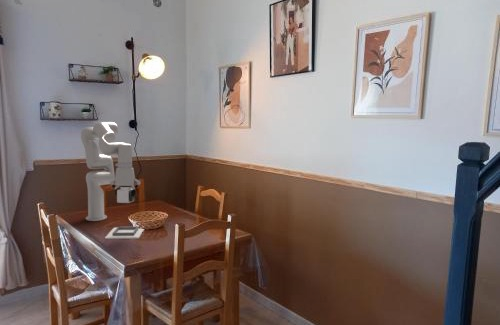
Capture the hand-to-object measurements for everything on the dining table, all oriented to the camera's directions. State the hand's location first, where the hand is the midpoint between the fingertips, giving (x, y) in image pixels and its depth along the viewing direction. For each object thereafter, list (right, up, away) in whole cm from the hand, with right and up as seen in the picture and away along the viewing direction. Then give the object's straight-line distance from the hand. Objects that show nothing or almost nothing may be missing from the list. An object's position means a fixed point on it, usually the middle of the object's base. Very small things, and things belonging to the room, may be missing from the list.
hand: (125, 195), depth 195 cm
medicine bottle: (0, -4, 0) cm, 4 cm away
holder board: (-1, -22, +3) cm, 22 cm away
